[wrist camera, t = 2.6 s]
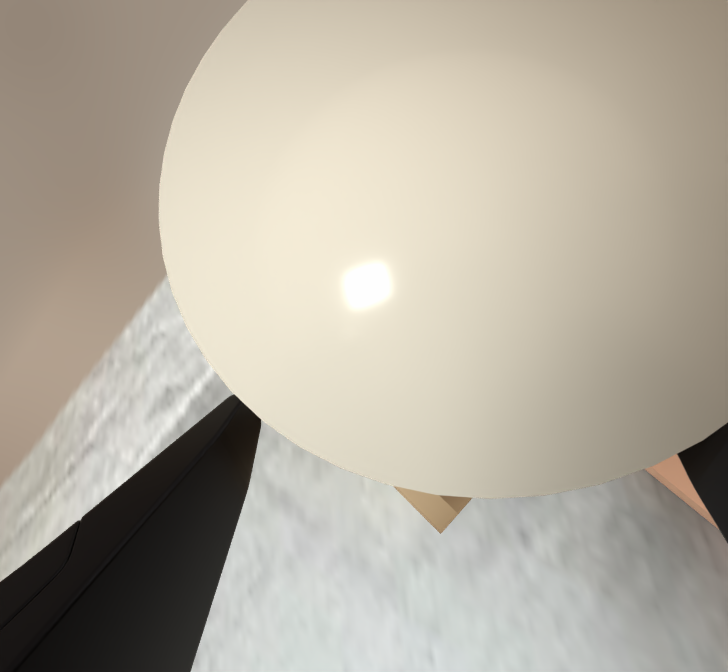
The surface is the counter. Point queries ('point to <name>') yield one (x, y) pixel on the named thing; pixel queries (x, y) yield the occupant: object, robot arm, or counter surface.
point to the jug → (461, 233)
